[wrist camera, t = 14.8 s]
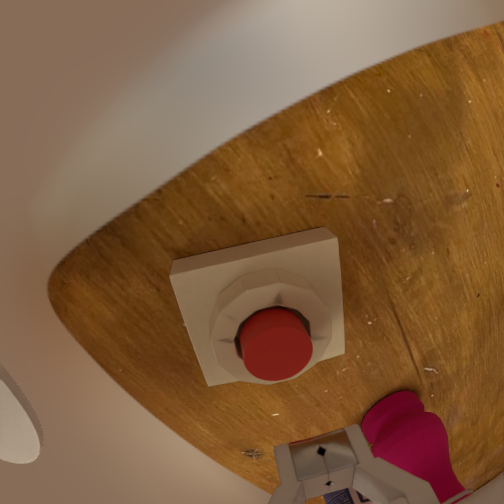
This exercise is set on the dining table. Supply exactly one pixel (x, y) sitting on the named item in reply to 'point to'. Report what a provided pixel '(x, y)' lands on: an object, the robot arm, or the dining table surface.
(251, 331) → the button
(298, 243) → the box
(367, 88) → the dining table surface
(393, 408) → the pepper mill
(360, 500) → the pill bottle
